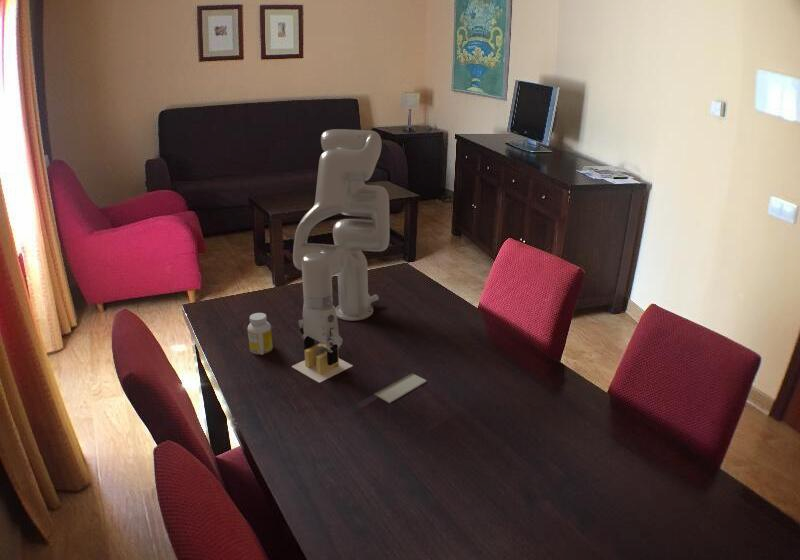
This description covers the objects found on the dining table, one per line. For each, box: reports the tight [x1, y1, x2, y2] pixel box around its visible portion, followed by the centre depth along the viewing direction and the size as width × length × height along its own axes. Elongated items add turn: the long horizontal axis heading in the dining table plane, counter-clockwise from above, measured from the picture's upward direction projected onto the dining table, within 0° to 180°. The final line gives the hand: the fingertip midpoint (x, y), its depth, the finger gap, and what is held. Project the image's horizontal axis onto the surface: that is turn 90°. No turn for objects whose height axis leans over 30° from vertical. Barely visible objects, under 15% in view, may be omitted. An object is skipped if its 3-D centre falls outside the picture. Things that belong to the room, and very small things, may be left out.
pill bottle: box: [247, 312, 274, 356], centre depth 183 cm, size 6×6×12 cm
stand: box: [291, 347, 354, 383], centre depth 175 cm, size 12×12×6 cm
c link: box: [303, 342, 340, 375], centre depth 175 cm, size 6×6×5 cm
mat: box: [373, 372, 427, 404], centre depth 170 cm, size 14×14×1 cm
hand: (321, 357), depth 175 cm, fingers open, 9 cm apart
